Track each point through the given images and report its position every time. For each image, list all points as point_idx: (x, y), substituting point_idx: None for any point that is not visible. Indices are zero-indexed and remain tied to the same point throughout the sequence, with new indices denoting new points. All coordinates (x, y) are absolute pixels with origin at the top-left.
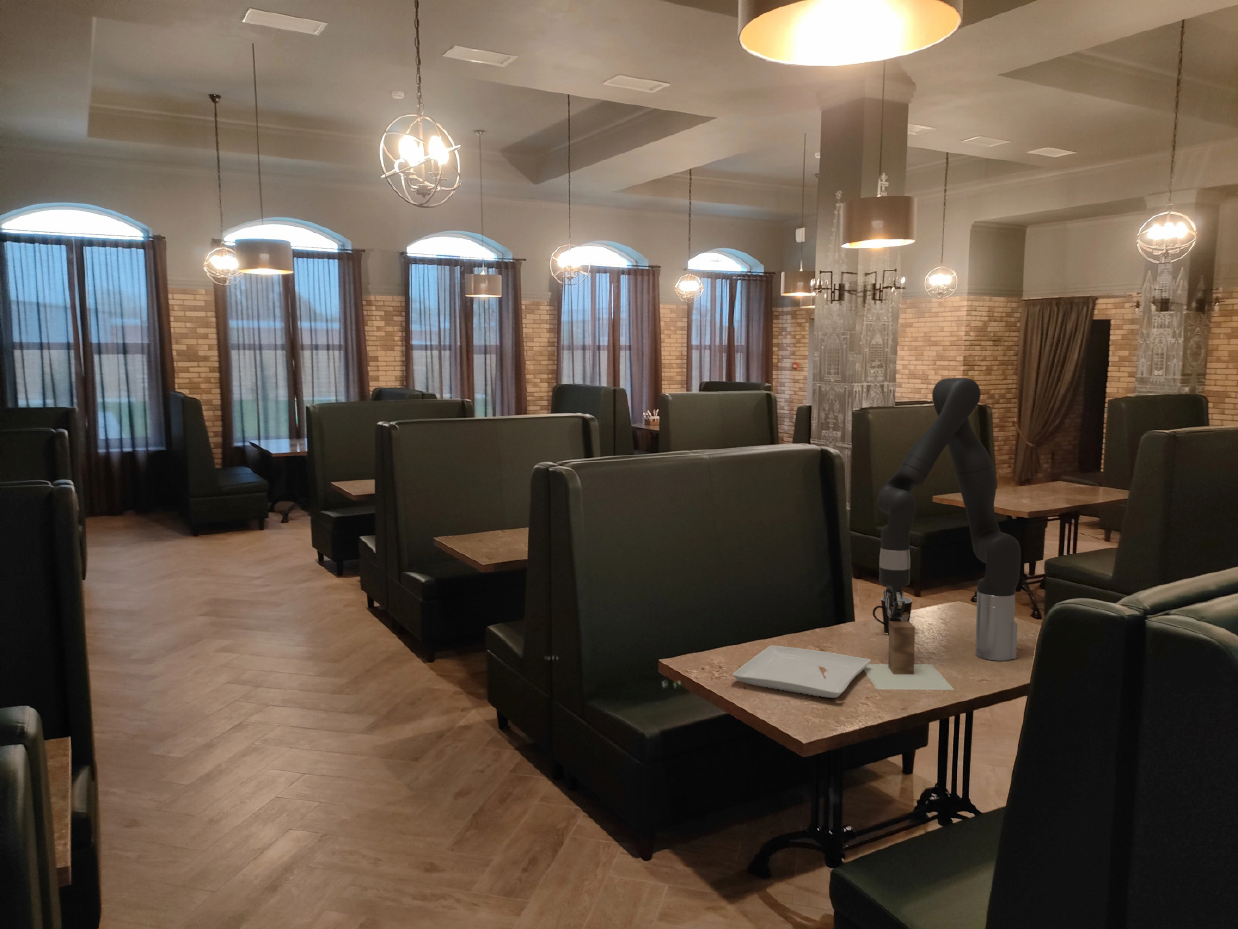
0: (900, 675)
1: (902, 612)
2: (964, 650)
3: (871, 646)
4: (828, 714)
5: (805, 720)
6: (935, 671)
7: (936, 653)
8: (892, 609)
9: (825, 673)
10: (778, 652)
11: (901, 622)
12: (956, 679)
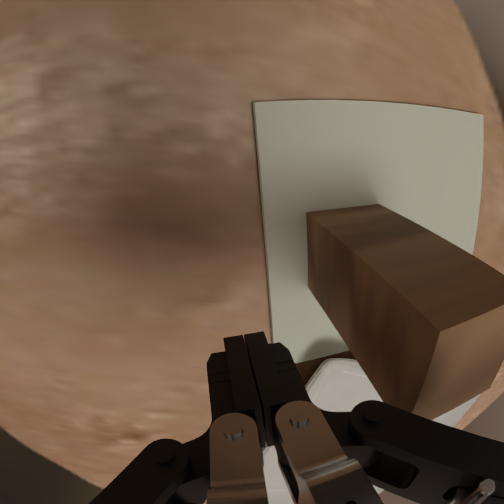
0: None
1: (444, 427)
2: None
3: (35, 317)
4: None
5: (494, 385)
6: (345, 109)
7: (56, 63)
8: (401, 491)
9: None
10: None
11: (443, 375)
12: (388, 54)
